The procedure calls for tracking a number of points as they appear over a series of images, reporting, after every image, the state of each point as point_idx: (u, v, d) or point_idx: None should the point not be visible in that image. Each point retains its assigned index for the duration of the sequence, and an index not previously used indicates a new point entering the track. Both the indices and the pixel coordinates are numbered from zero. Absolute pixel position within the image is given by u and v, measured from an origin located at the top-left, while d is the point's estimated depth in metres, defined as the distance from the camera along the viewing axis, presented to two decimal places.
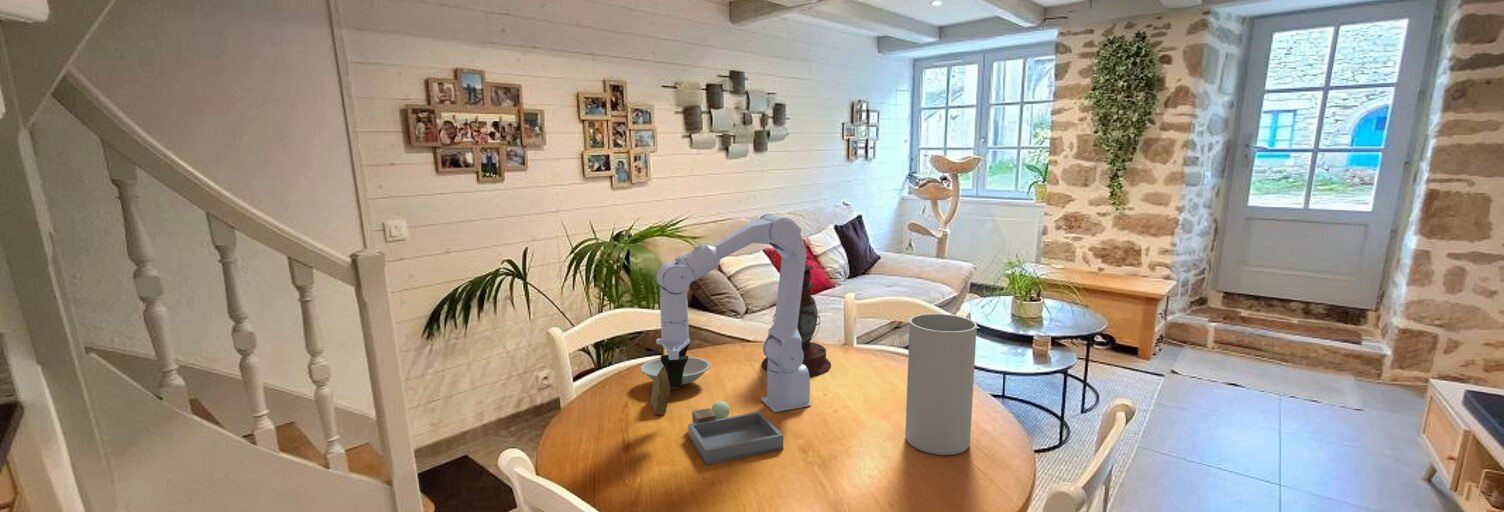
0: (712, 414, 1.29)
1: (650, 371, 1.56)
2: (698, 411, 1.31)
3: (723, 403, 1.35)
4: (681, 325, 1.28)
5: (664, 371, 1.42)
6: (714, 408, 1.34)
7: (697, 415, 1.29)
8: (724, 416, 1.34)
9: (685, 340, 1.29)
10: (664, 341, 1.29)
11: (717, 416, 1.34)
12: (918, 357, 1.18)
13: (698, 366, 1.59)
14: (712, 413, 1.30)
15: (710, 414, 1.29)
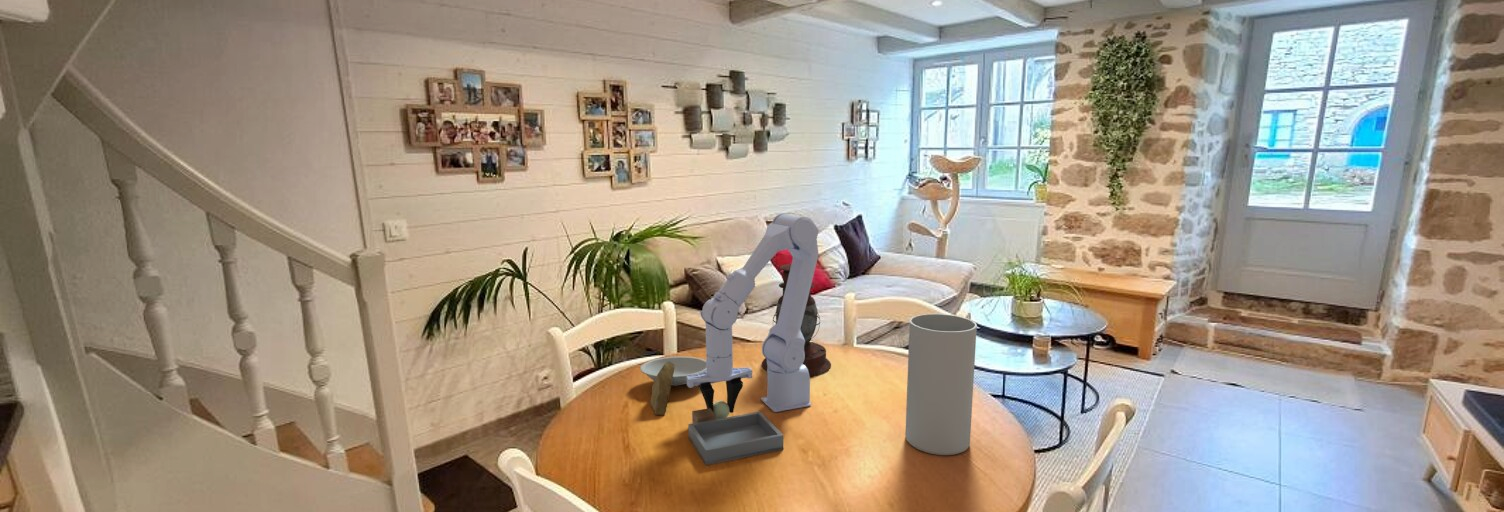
0: (712, 414, 1.29)
1: (650, 371, 1.56)
2: (698, 411, 1.31)
3: (723, 403, 1.35)
4: (711, 360, 1.31)
5: (664, 371, 1.42)
6: (714, 408, 1.34)
7: (697, 415, 1.29)
8: (724, 416, 1.34)
9: (715, 376, 1.31)
10: None
11: (717, 416, 1.34)
12: (918, 357, 1.18)
13: (698, 366, 1.59)
14: (712, 413, 1.30)
15: (710, 414, 1.29)
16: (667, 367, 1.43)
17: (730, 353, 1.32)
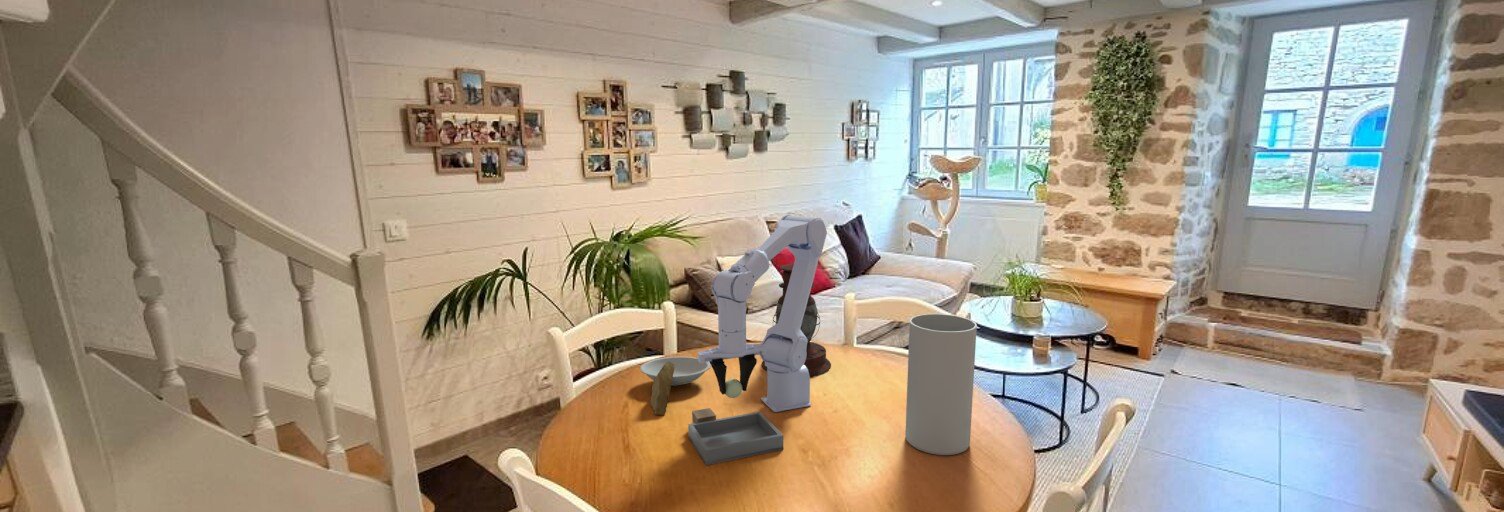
0: (712, 414, 1.29)
1: (650, 371, 1.56)
2: (698, 411, 1.31)
3: (736, 381, 1.29)
4: (723, 335, 1.25)
5: (664, 371, 1.42)
6: (727, 385, 1.28)
7: (697, 415, 1.29)
8: (737, 394, 1.28)
9: (727, 352, 1.26)
10: None
11: (729, 394, 1.28)
12: (918, 357, 1.18)
13: (698, 366, 1.59)
14: (712, 413, 1.30)
15: (710, 414, 1.29)
16: (667, 367, 1.43)
17: (745, 326, 1.27)
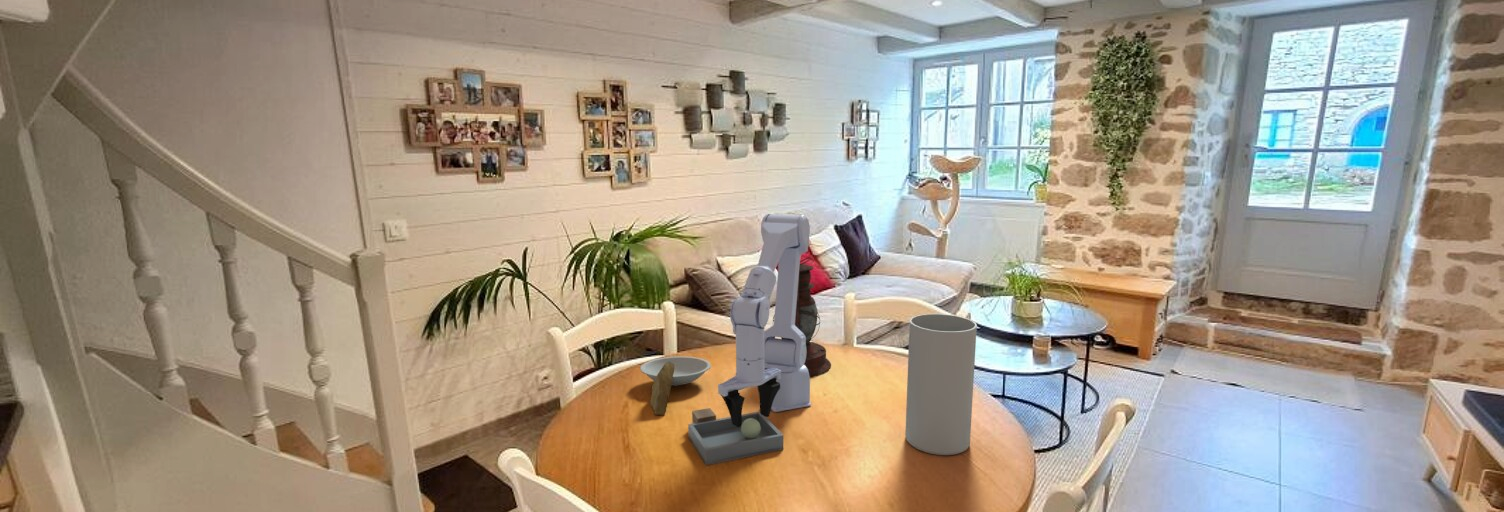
0: (712, 414, 1.29)
1: (650, 371, 1.56)
2: (698, 411, 1.31)
3: (755, 420, 1.25)
4: (745, 364, 1.20)
5: (664, 371, 1.42)
6: (747, 426, 1.24)
7: (697, 415, 1.29)
8: (757, 434, 1.24)
9: (750, 381, 1.21)
10: None
11: (750, 435, 1.24)
12: (918, 357, 1.18)
13: (698, 366, 1.59)
14: (712, 413, 1.30)
15: (710, 414, 1.29)
16: (667, 367, 1.43)
17: None
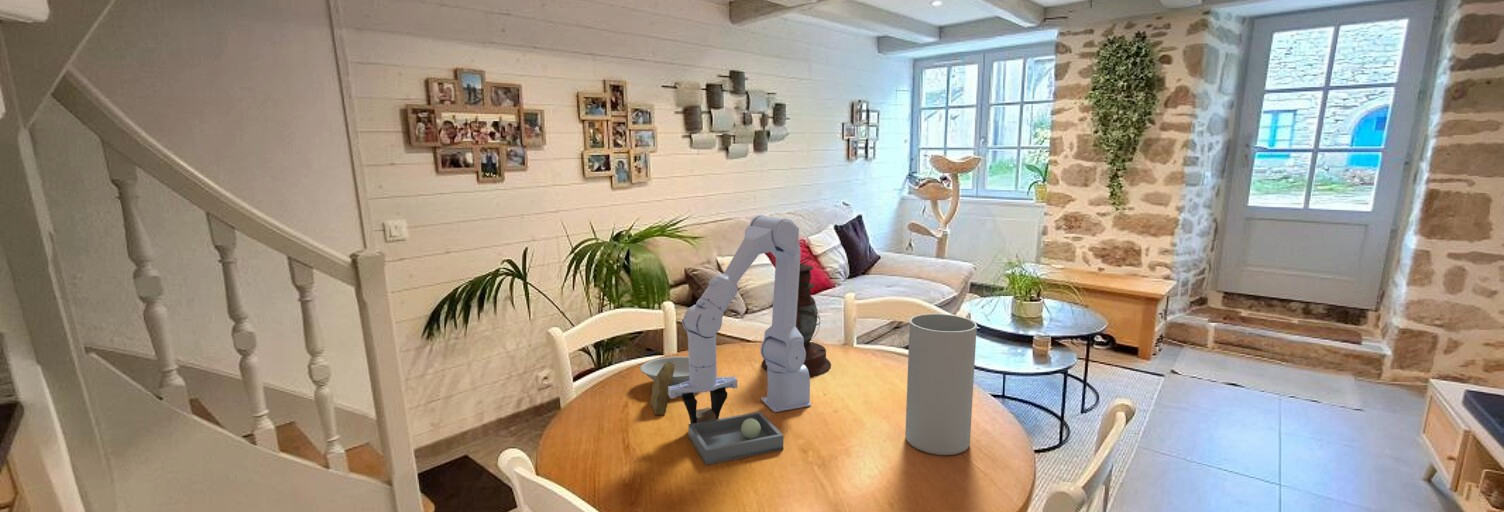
0: (712, 413, 1.29)
1: (650, 371, 1.56)
2: (698, 410, 1.31)
3: (755, 420, 1.25)
4: (693, 369, 1.26)
5: (664, 371, 1.42)
6: (747, 426, 1.24)
7: (697, 415, 1.29)
8: (757, 434, 1.24)
9: (698, 386, 1.26)
10: None
11: (750, 435, 1.24)
12: (918, 357, 1.18)
13: None
14: (712, 413, 1.30)
15: (710, 413, 1.29)
16: (667, 367, 1.43)
17: (715, 361, 1.27)
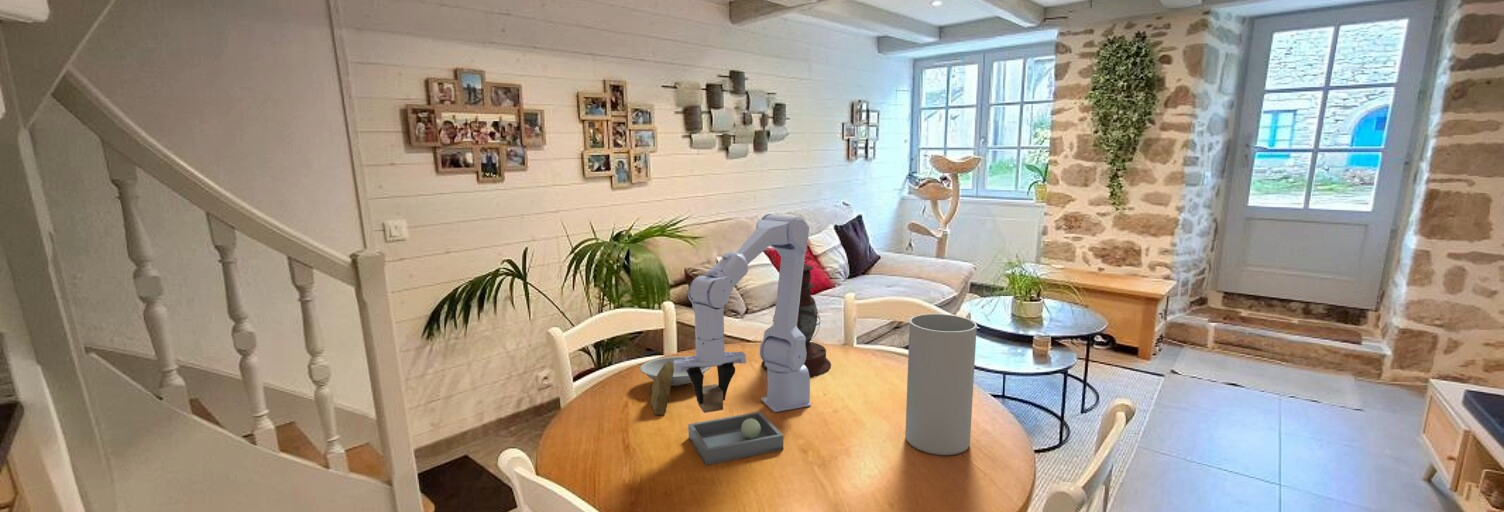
0: (719, 390, 1.24)
1: (650, 371, 1.56)
2: (704, 387, 1.26)
3: (755, 420, 1.25)
4: (700, 343, 1.20)
5: (664, 371, 1.42)
6: (747, 427, 1.24)
7: (704, 391, 1.24)
8: (757, 434, 1.24)
9: (704, 360, 1.21)
10: None
11: (750, 435, 1.24)
12: (918, 357, 1.18)
13: None
14: (719, 389, 1.24)
15: (716, 390, 1.24)
16: (667, 367, 1.43)
17: (723, 334, 1.22)
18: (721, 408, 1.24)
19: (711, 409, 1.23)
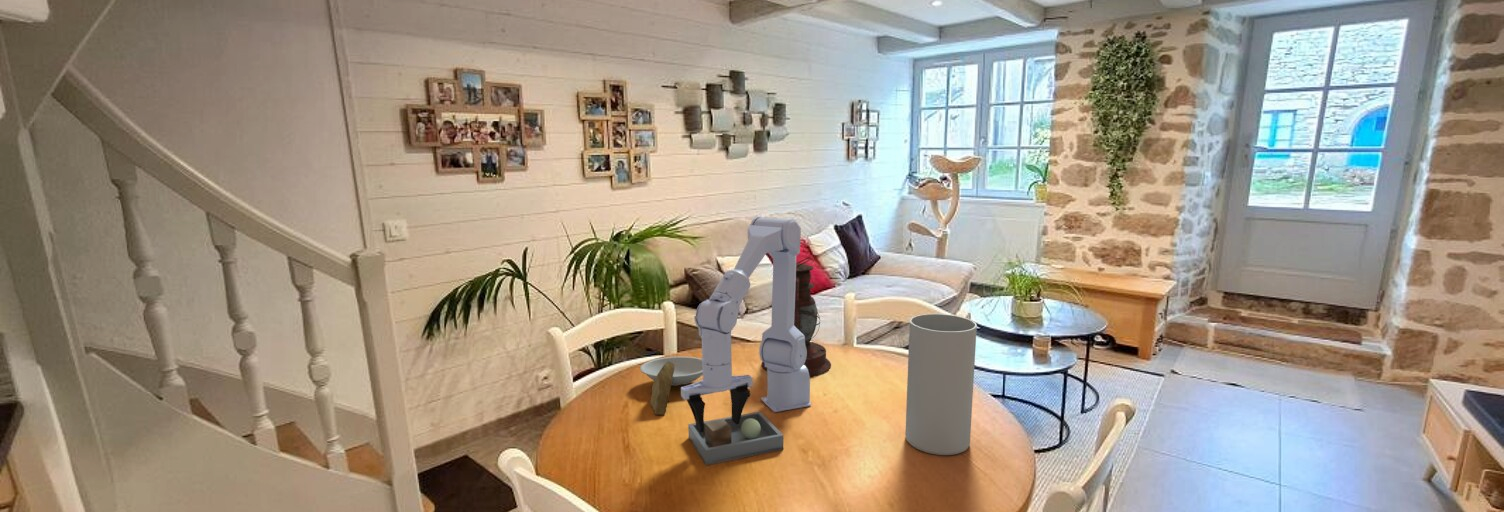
0: (727, 425, 1.22)
1: (650, 371, 1.56)
2: (711, 423, 1.24)
3: (754, 421, 1.25)
4: (708, 368, 1.18)
5: (664, 371, 1.42)
6: (747, 427, 1.24)
7: (712, 427, 1.22)
8: (757, 434, 1.24)
9: (713, 386, 1.18)
10: None
11: (750, 435, 1.24)
12: (918, 357, 1.18)
13: (698, 366, 1.59)
14: (727, 424, 1.23)
15: (724, 425, 1.22)
16: (667, 367, 1.43)
17: None
18: None
19: None
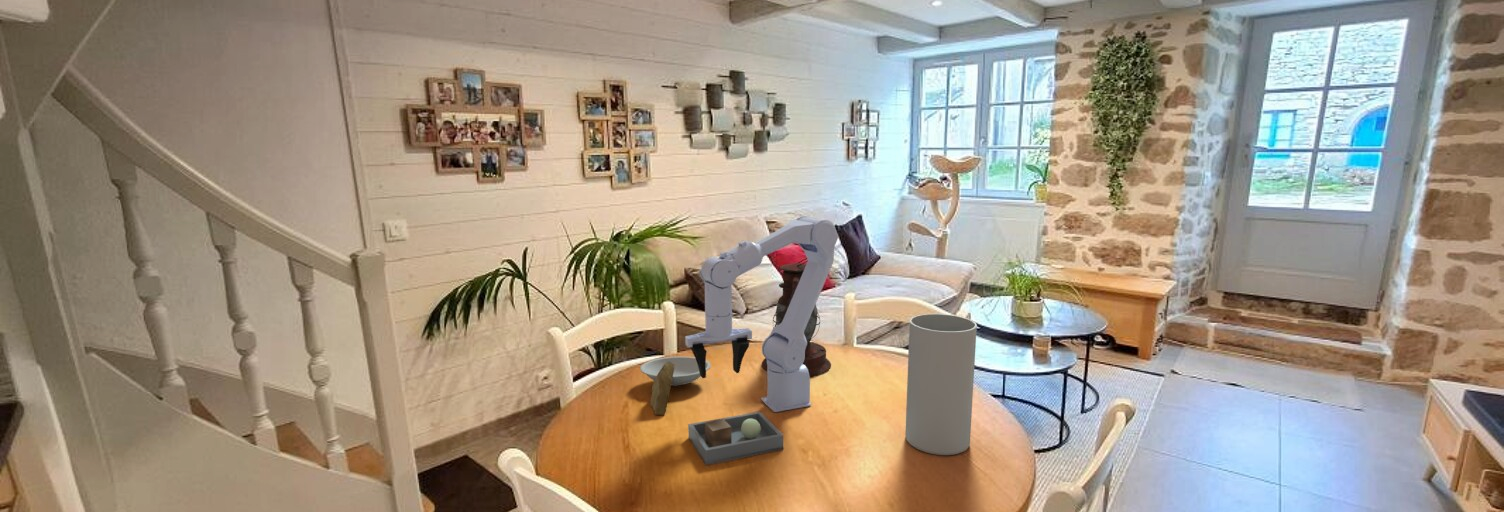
0: (727, 425, 1.22)
1: (650, 371, 1.56)
2: (711, 423, 1.24)
3: (754, 421, 1.25)
4: (710, 319, 1.30)
5: (664, 371, 1.42)
6: (747, 427, 1.24)
7: (712, 427, 1.22)
8: (757, 435, 1.24)
9: (714, 336, 1.30)
10: None
11: (750, 436, 1.24)
12: (918, 357, 1.18)
13: None
14: (727, 424, 1.23)
15: (724, 425, 1.22)
16: (667, 367, 1.43)
17: (729, 312, 1.30)
18: None
19: None
